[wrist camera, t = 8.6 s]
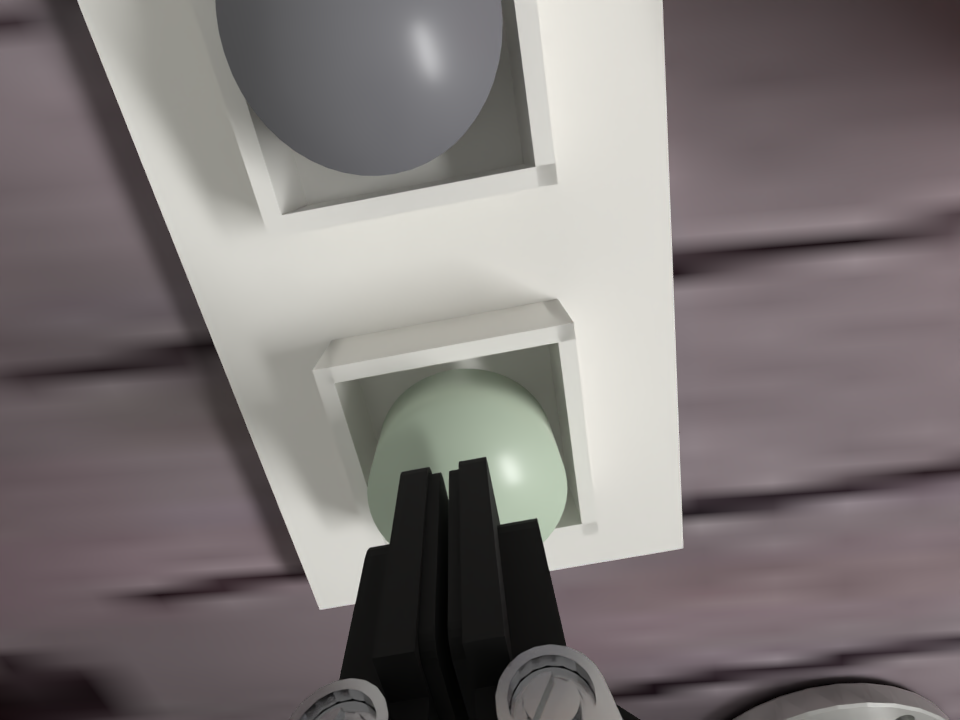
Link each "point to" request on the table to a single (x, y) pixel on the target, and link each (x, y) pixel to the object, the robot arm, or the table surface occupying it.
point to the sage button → (471, 445)
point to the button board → (431, 267)
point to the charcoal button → (364, 75)
